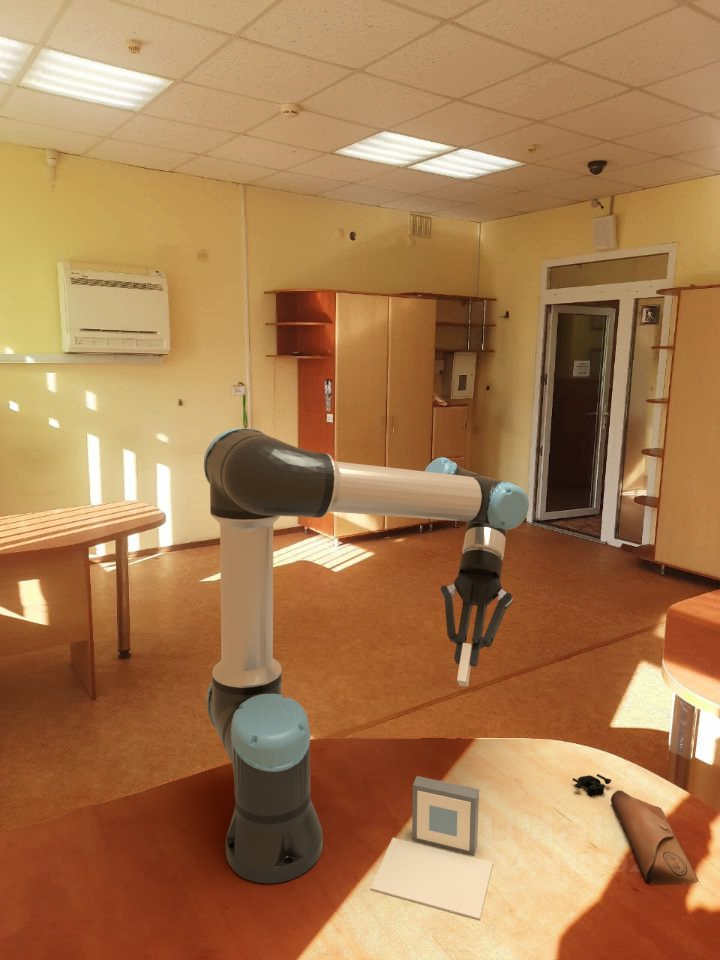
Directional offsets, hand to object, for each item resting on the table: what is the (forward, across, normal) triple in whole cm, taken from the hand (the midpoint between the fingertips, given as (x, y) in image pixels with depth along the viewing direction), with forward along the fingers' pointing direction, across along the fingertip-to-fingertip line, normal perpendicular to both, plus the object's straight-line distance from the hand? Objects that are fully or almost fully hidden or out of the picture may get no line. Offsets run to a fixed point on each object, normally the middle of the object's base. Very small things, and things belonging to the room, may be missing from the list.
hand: (462, 683), depth 114 cm
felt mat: (+28, 0, -3) cm, 29 cm away
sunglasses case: (+16, -31, -17) cm, 39 cm away
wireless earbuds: (+8, -21, -24) cm, 33 cm away
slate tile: (+23, 0, -9) cm, 25 cm away
